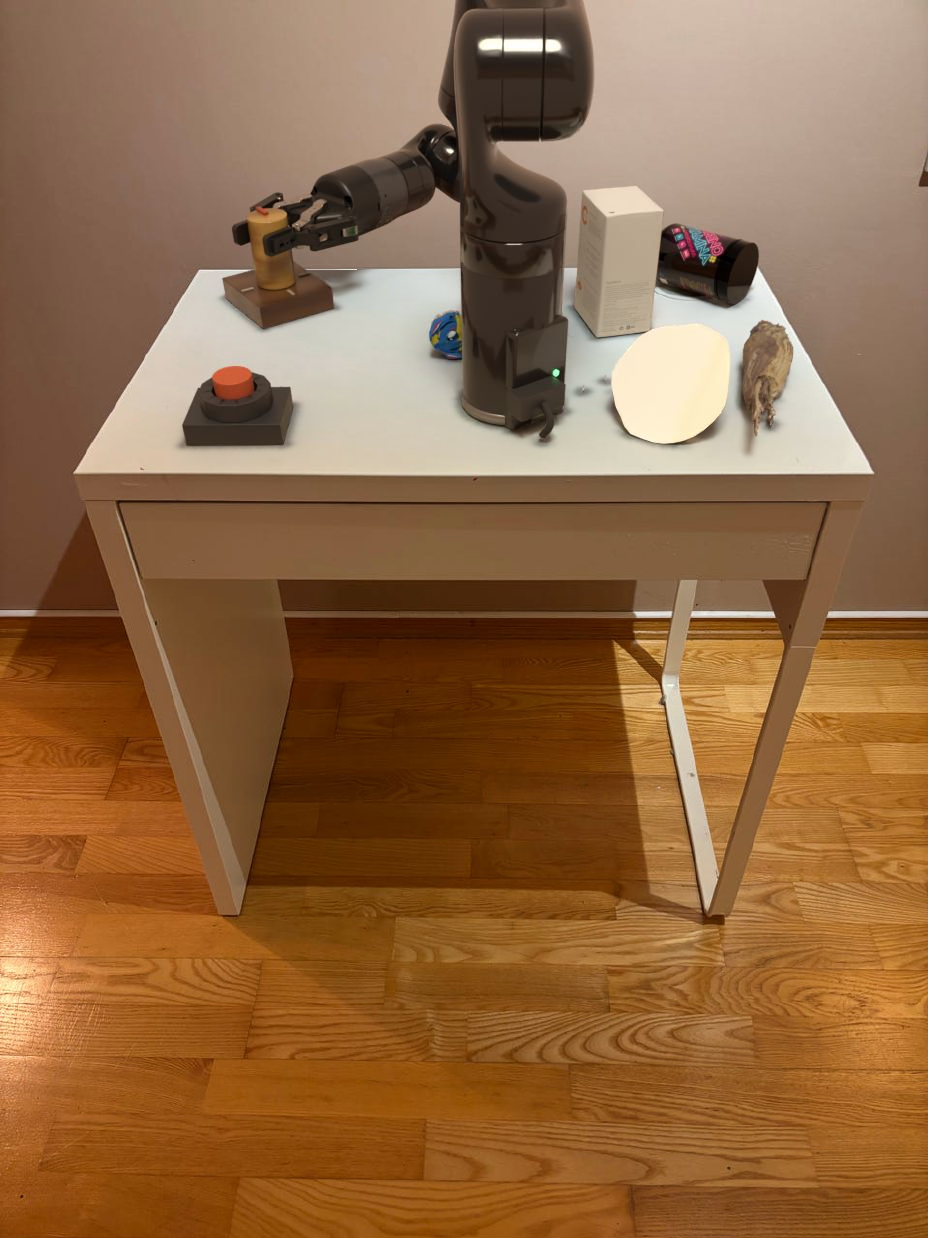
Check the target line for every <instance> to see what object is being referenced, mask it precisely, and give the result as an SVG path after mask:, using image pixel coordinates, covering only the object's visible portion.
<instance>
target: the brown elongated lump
mask: <svg viewBox="0 0 928 1238" xmlns="http://www.w3.org/2000/svg"><path fill="white" fill-rule="evenodd" d="M786 329H787V328H786V327H784V326H783V325H780V323H779V322H778V323H777V324H775V323H773V322H771V321H769V320H764V319H761V320H760V321H758V322H757V324H755V325H754V326H753V327H752V328H751V329H750V330H749V336H748V338H747V339H746V341H745V342H744V343H743V348H742V368H743V374H742V375H743V377H742V378H743V379H742V394H743V398H744V403H745V406H746V409H747V410H749V409H751V420H752V425H753V434H754V437H757V436H758V430H759V424H760V423H761V413H764V411H765V410H767V412H766V418H767V420H768V421H769V426H770V427H772V426H773V423H774V416H776V415H777V411H776V410H775V407H774V406H773V402H774V399H775V398H776V396H778V395H779V394H780V393H781V392H783V391H784V390H783V389H784V388H785V385H786V381H787V377H788V376H789V375H790V370H791V367H792V362H793V359H794V347H793V343H792V341H791V340H790V338H789V335H788V333H787V332H786Z"/></svg>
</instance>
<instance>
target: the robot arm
mask: <svg viewBox="0 0 928 1238" xmlns="http://www.w3.org/2000/svg"><path fill="white" fill-rule="evenodd" d="M584 2H585V1H584V0H454V9H453V18H452V19H453V20H452V25H451V32H450V37H449V43H448V48H447V52H446V57H445V62H444V65H443V69H442V70H443V71H442V75H441V81H440V85H439V89H438V95H437V105H438V108H439V110H440V112H441V113H442V114H443V116H444V117H445V119H446V120H447V121H448V122H449V124H450V125H451V126H450V125H448V126H446V125H447V124H445V125H443V124H444V123H431V124H428V125H426V126H424V127H423V128H421V129H420V130H419V131H417V133H416V134H415V135H414V136H413V137H412V138H410V139H409V140H408V141H406V143H405V144H404V145H403V146H401V147H400V148H399V149H397V150H396V151H393V152H389V153H387V154H383V155H382V156H379V157H376V158H370V159H365V160H360V161H358V162H355V163H353V164H350V165H346V166H344V167H342V168H339V169H336V170H333V171H330V172H327V173H325V174H322V175H321V176H319V177H318V178H317V180H316V181H314V184H313V186H312V189H311V191H310V193H305V194H300V195H297V196H296V197H295V198H293V199H288V200H286V199H284V193H283V192H279V191H277V192H273V193H272V194H270V195H269V196H267V197H265V198H263V199H261V200H260V201H258V202H257V203H255V204H253V205H252V206H250V207H249V213H250V212H252V211H255V210H256V207H259V206H260V207H262V208H263V209H266V208H275V209H281V210H283V211H285V212H286V213H287V218H288V225H289V227H288V226H287V227H284V228H282V229H279V230H277V231H274V232H271V233H269V234H266V235H264V236H263V239H262V242H263V248H264V253H265V255H267V256H270V257H273V256H275V255H278V254H280V253H283V252H285V251H288V250H290V249H296V250H303V249H306V248H307V247H309V251H310V252H320V251H323V250H326V249H331V248H335V247H339V246H343V245H346V244H351V243H355V242H358V241H359V237H360V236H361V237H362V236H364V235H366V234H368V233H370V232H373V231H375V230H377V229H380V228H382V227H384V226H387V225H389V224H390V223H392V222H393V221H395V220H396V219H398V218H401V217H402V216H405V215H407V214H409V213H412V212H414V211H417V210H420V209H421V208H423V207H424V206H426V205H428V204H429V203H430V202H431V200H432V199H433V197H434V196H435V192H436V189H438V190H439V191H440V192H442V193H443V194H444V195H446V196H447V197H448V198H449V199H451V200H453V201H454V202H456V203H459V248H460V250H459V253H460V255H459V259H460V261H459V262H460V263H459V264H460V268H459V269H460V309H461V310H460V312H461V313H460V315H461V328H462V352H461V355H462V358H461V368H462V371H461V372H462V375H461V376H462V388H461V405H462V407H463V409H464V410H465V411H466V412H467V413H468V414H469V415H470V416H472V417H473V418H475V419H477V420H480V421H482V422H484V423H489V424H493V425H499V426H505V427H507V428H508V429H510V430H513V431H514V430H517V429H520V428H523V427H525V426H528V425H530V424H531V425H532V424H533V423H535V422H539V421H541V420H543V419H545V421H546V422H545V425H544V427H543V428H542V429H541V430H540V431H539V432H538V436H539V437H540V439H543V440H545V439H546V438H547V437H548V436H549V435H550V434H551V432H553V430H554V426H555V416H554V415H556V414H559V413H562V412H563V411H564V407H565V401H566V400H565V399H566V368H567V367H566V366H567V349H568V333H569V320H568V318H567V317H566V316H564V315H563V297H564V280H565V279H564V278H565V261H566V243H567V228H568V227H567V225H568V212H569V208H568V207H569V206H568V205H569V199H568V196H567V192H566V191H565V189H564V188H563V186H562V185H561V184H560V183H559V182H557V181H556V180H554V179H552V178H550V177H548V176H546V175H544V174H540V173H538V172H536V171H533V170H531V169H529V168H526V167H524V166H522V165H520V164H519V163H517V162H516V161H514V160H512V159H511V158H510V157H508V156H507V155H506V154H504V152H503V151H502V150H501V149H500V148H499V146H498V144H497V143H498V142H499V143H502V142H503V143H504V142H507V143H508V142H510V143H511V142H512V143H513V142H515V143H516V142H517V143H518V142H522V143H526V142H528V143H529V142H531V143H532V142H534V143H535V142H536V143H537V142H538V143H539V142H542V143H543V142H556V141H562V140H566V139H570V138H571V137H573V136H576V134H577V133H579V132H580V131H581V130H582V128H583V127H584V125H585V123H586V121H587V119H588V117H589V114H590V110H591V107H592V102H593V98H594V91H595V75H596V74H595V56H594V54H595V53H594V45H593V40H592V35H591V34H592V33H591V27H590V23H589V19H588V15H587V11H586V6H585V3H584ZM449 126H450V127H449ZM451 127H452V128H453V129H452V128H451ZM231 232H232V237H233V239H232V240H233V242H234V244H235V245H237V246H240V247H242V246H245V245H247V244H251V243H250V237H249V231H248V225H247V219H245V220H242V221H239V222H236V223H234V224H233V225H232V226H231Z"/></svg>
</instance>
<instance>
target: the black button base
mask: <svg viewBox="0 0 928 1238" xmlns="http://www.w3.org/2000/svg"><path fill="white" fill-rule="evenodd" d="M251 372H252V371H251ZM252 377H253V383H254V392H253V393H252V394H250V395H249V396H247V397H243V398H239V399H221V398H218V397H217V396H216V394H215V390H214V385H213V380H212V377H210V378H208V379H207V380H205V381H204V382H202V383H201V385H200V386H199V387H197V388H196V391H195V394H194V396H193V398H192V401H191V402H190V405H189V408H188V410H187V412H186V414H185V417H184V419H183V421H182V424H181V427H182V430H183V431H182V432H183V436H184V440H185V444H186V446H279V445H280V446H282V445H284V442H285V439H286V435H287V431H288V427H289V424H290V420H291V417H292V412H293V409H294V401H293V395H292V388H291V386H272V384H271V382H270V381H269V380H268V378H267V377H266V376H265V375H263V374H260V373H258V372H257V373H256V372H254V371H253V372H252Z"/></svg>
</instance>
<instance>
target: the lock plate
mask: <svg viewBox="0 0 928 1238" xmlns="http://www.w3.org/2000/svg"><path fill="white" fill-rule="evenodd" d="M293 263H294V271H295V278H296V281H295V283H294V284H293V285H292V286H290V287H287V288H284V289H279V290H268V289H263V288H261V287H259V286H258V285H257V281H256V275H255V268H254V269H251V270H248V271H243V272H240V273H236V274H232V275H228V276H225V277H222V278H221V280H222V285H223V290H224V291H223V292H224V295H225V299H227V301H228V302H230V303H231V304H232V305H233V306H235V307H236V308H237V309H238V310H239V311H241V312H242V313H243V314H245V316H247V317H248V318H249V319H250V320H252V321H253V322H254V323H255V324H256V325H258V326H259V327H260V328H262V330H264V329H268V328H271V327H275V326H278V325H282V324H286V323H289V322H293V321H296V320H299V319H302V318H306V317H309V316H313V315H316V314H319V313H323V312H326V311H329V310H333V309H335V301H334V293H333V287H332V286H331V285H329V284H328V283H326V282H324V281H323V280H322V279H320V278H319V277H317V276H316V275H314V274H313V273H311V271H309V270H307V269H306V268H305V267H303V266H301V265H300V264H299V263H297V262H295V261H294V260H293Z"/></svg>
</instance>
